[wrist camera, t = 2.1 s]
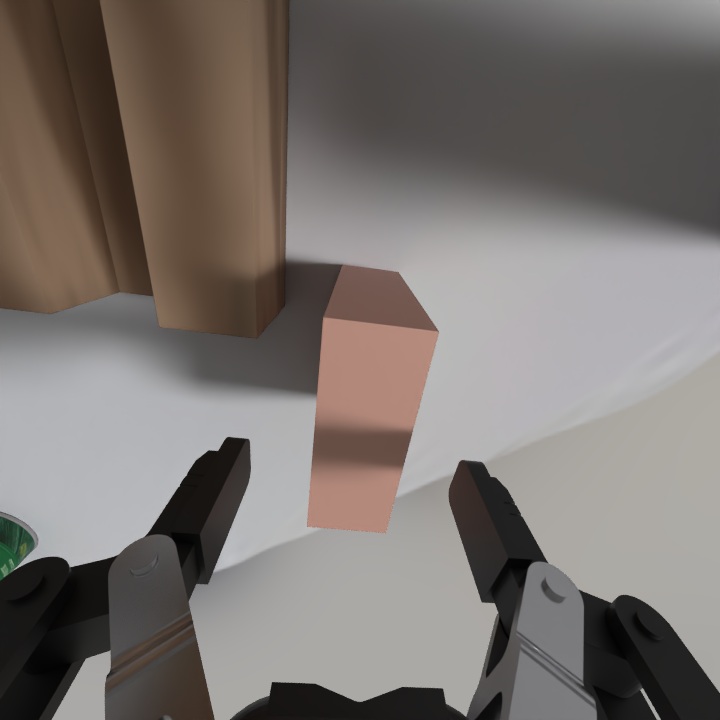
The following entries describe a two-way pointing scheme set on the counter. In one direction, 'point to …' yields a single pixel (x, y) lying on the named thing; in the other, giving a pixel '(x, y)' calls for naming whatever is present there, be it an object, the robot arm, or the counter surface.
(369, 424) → the pink rectangular block
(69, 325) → the counter surface
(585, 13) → the counter surface
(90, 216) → the book stand
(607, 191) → the counter surface
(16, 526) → the canned tomato
